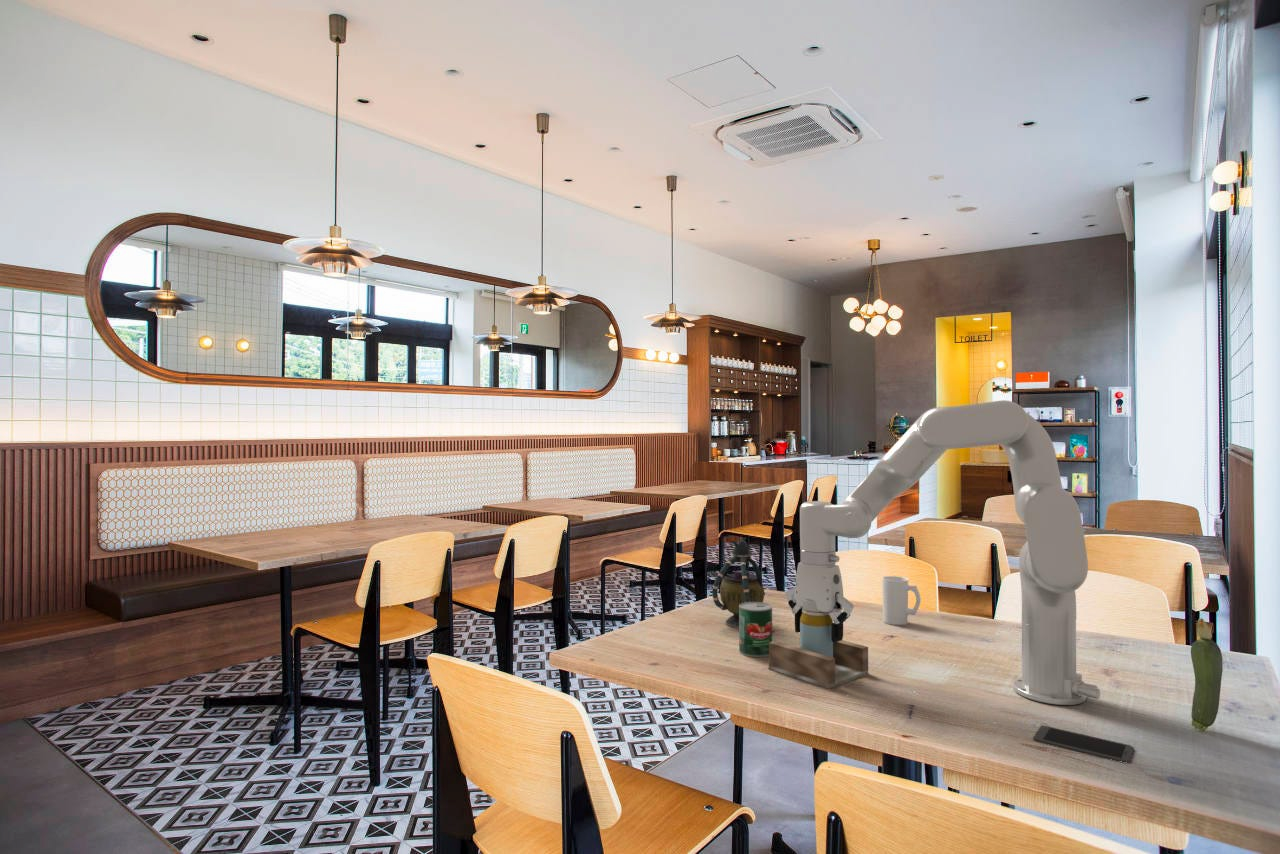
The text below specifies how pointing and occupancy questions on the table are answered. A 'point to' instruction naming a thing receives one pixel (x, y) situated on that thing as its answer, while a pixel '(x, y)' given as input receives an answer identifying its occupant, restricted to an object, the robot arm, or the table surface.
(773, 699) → the table surface
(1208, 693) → the vegetable
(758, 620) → the canned tomato
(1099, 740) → the cell phone
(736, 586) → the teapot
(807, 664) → the u rest
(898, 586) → the mug
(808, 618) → the bottle
